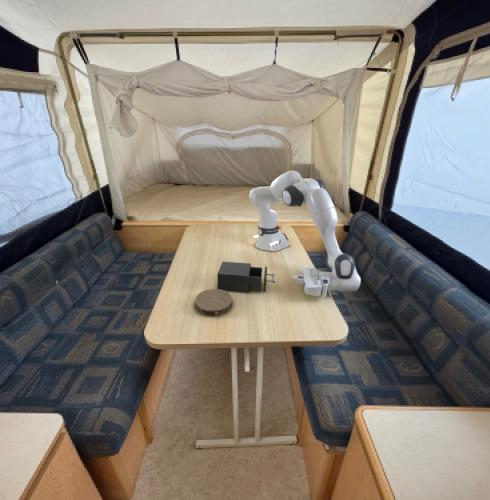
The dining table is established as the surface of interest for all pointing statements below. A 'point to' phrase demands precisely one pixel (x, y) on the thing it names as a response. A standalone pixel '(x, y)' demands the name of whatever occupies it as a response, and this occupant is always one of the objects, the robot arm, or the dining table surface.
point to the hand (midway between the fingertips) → (293, 278)
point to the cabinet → (234, 277)
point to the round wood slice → (213, 302)
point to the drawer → (258, 278)
